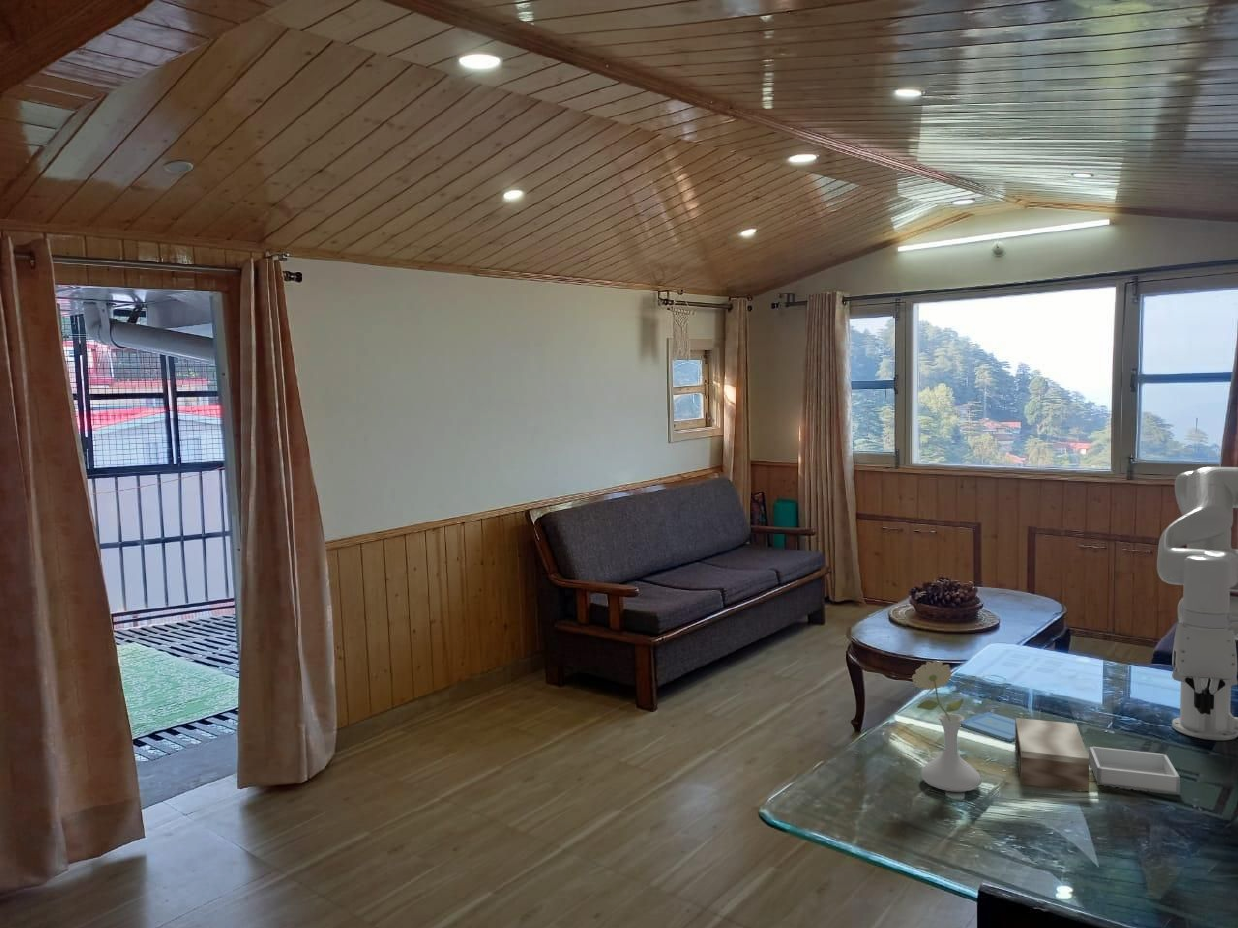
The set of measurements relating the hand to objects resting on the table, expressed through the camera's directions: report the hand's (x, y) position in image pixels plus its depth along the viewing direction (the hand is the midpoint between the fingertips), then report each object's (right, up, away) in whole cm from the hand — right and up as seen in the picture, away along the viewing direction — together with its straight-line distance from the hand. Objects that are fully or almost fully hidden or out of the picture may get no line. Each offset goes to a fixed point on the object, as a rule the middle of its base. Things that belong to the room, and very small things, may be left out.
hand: (1203, 711), depth 172 cm
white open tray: (-11, -15, +5) cm, 19 cm away
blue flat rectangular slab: (-25, -14, +34) cm, 45 cm away
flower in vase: (-49, -16, +4) cm, 52 cm away
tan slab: (-25, -15, +11) cm, 31 cm away
